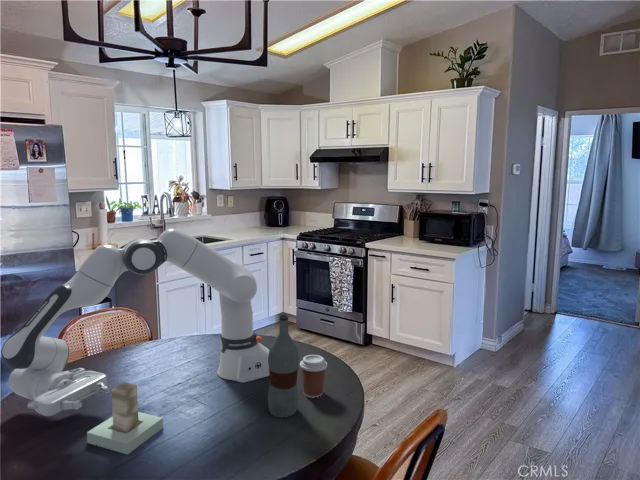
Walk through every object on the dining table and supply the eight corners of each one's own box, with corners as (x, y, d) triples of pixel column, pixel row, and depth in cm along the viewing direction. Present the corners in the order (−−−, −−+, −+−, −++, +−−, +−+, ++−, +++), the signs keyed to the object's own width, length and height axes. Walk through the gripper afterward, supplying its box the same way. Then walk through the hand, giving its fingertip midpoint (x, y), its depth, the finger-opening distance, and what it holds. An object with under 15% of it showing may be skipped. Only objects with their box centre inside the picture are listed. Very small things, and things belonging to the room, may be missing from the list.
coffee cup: (317, 402, 146) (317, 366, 144) (293, 394, 150) (294, 360, 149) (331, 391, 153) (332, 357, 152) (309, 384, 158) (309, 351, 156)
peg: (126, 429, 129) (123, 382, 127) (138, 432, 127) (137, 384, 125) (113, 437, 124) (111, 389, 122) (126, 441, 123) (124, 392, 121)
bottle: (299, 404, 144) (301, 312, 140) (296, 419, 135) (297, 321, 131) (270, 402, 145) (270, 310, 141) (265, 417, 136) (265, 320, 132)
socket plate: (125, 418, 134) (124, 408, 134) (163, 427, 130) (162, 417, 129) (87, 442, 122) (86, 432, 121) (127, 454, 117) (127, 443, 117)
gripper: (22, 394, 123) (60, 404, 118) (85, 365, 142) (120, 373, 137) (23, 416, 124) (61, 427, 119) (86, 384, 143) (121, 393, 138)
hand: (93, 398), depth 128 cm, fingers open, 8 cm apart
